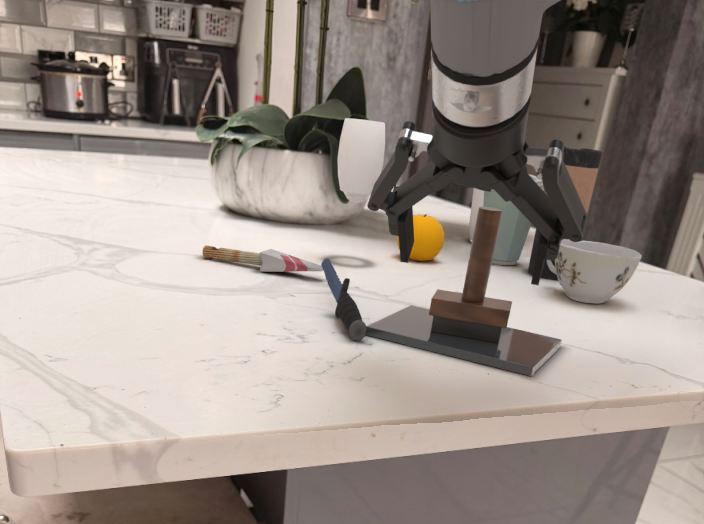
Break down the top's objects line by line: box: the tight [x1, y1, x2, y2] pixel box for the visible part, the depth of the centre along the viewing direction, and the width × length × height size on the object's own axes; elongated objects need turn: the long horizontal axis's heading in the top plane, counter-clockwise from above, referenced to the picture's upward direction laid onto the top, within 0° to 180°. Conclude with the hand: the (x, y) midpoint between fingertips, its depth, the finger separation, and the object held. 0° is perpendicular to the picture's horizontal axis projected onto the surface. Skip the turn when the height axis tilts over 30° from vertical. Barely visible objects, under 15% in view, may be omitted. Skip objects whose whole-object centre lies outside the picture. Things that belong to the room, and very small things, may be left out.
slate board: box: [365, 304, 563, 377], centre depth 91 cm, size 20×14×1 cm
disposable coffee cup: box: [483, 173, 545, 266], centre depth 135 cm, size 11×11×15 cm
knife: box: [320, 257, 367, 342], centre depth 96 cm, size 24×2×5 cm, turn 10°
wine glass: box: [336, 117, 386, 205], centre depth 120 cm, size 7×7×21 cm
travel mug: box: [527, 145, 603, 281], centre depth 127 cm, size 8×8×20 cm
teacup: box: [547, 239, 643, 305], centre depth 117 cm, size 15×12×8 cm
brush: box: [429, 207, 513, 343], centre depth 87 cm, size 9×5×14 cm, turn 75°
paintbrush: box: [202, 245, 324, 273], centre depth 113 cm, size 4×3×20 cm
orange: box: [396, 213, 445, 262], centre depth 131 cm, size 8×8×8 cm
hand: (471, 262), depth 79 cm, fingers open, 13 cm apart
